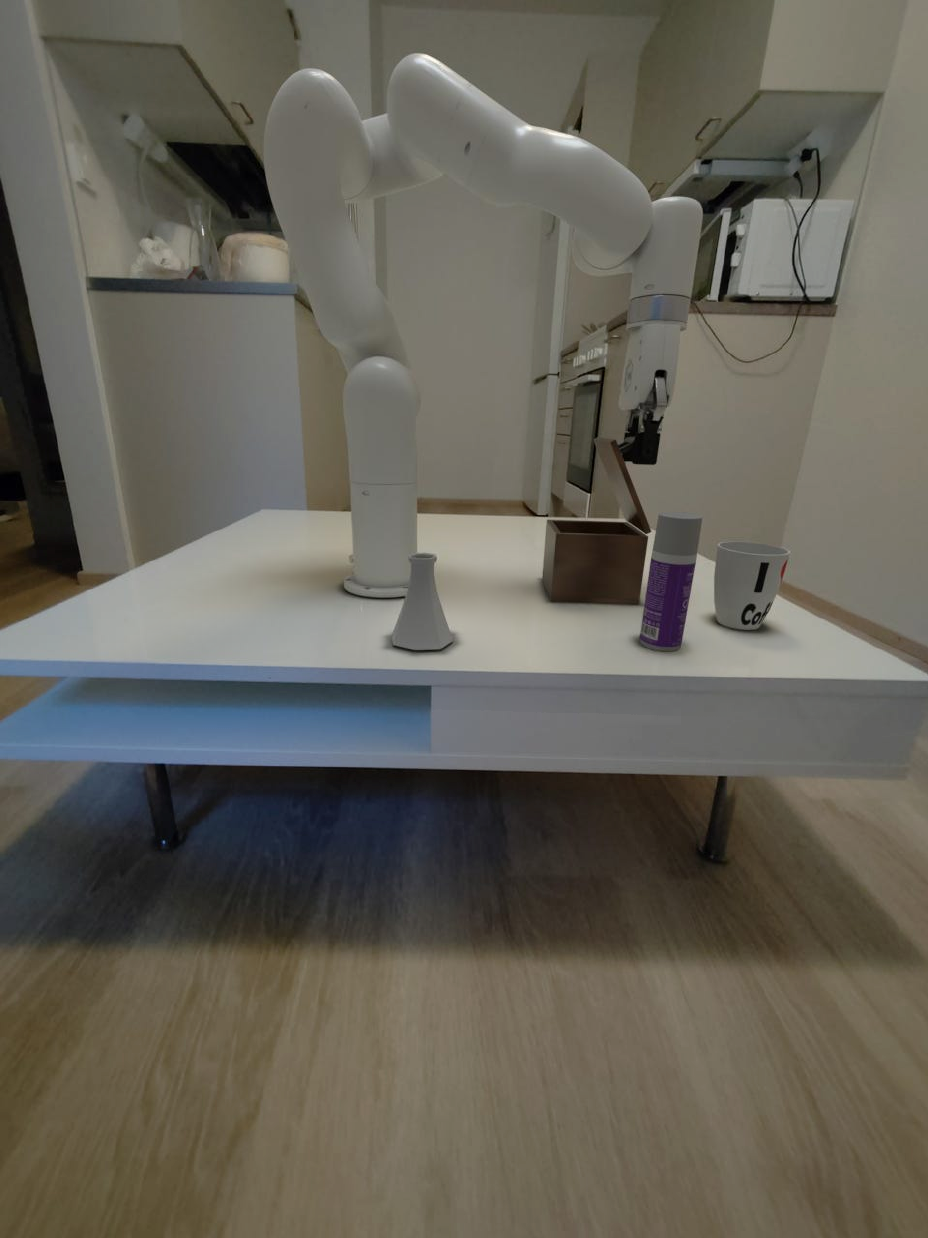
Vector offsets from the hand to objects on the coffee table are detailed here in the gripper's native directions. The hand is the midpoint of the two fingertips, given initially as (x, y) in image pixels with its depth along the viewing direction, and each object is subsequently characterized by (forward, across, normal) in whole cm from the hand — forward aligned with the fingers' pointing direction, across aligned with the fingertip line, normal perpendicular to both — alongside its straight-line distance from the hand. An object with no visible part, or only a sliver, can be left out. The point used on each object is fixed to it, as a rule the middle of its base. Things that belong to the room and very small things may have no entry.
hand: (638, 461), depth 77 cm
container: (+19, +21, 0) cm, 28 cm away
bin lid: (+3, 0, -2) cm, 4 cm away
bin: (+19, 0, -5) cm, 20 cm away
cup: (+19, +12, +12) cm, 26 cm away
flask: (+20, +22, -28) cm, 41 cm away
